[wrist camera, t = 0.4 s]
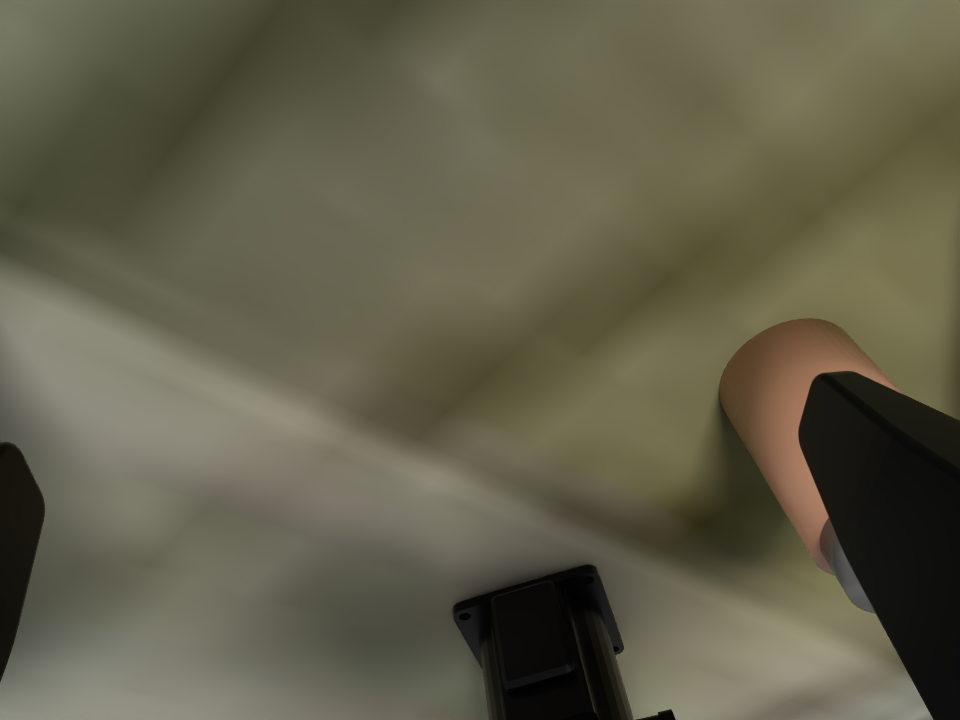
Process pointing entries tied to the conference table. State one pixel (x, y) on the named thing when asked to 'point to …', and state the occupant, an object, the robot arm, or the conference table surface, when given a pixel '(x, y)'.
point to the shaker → (793, 424)
